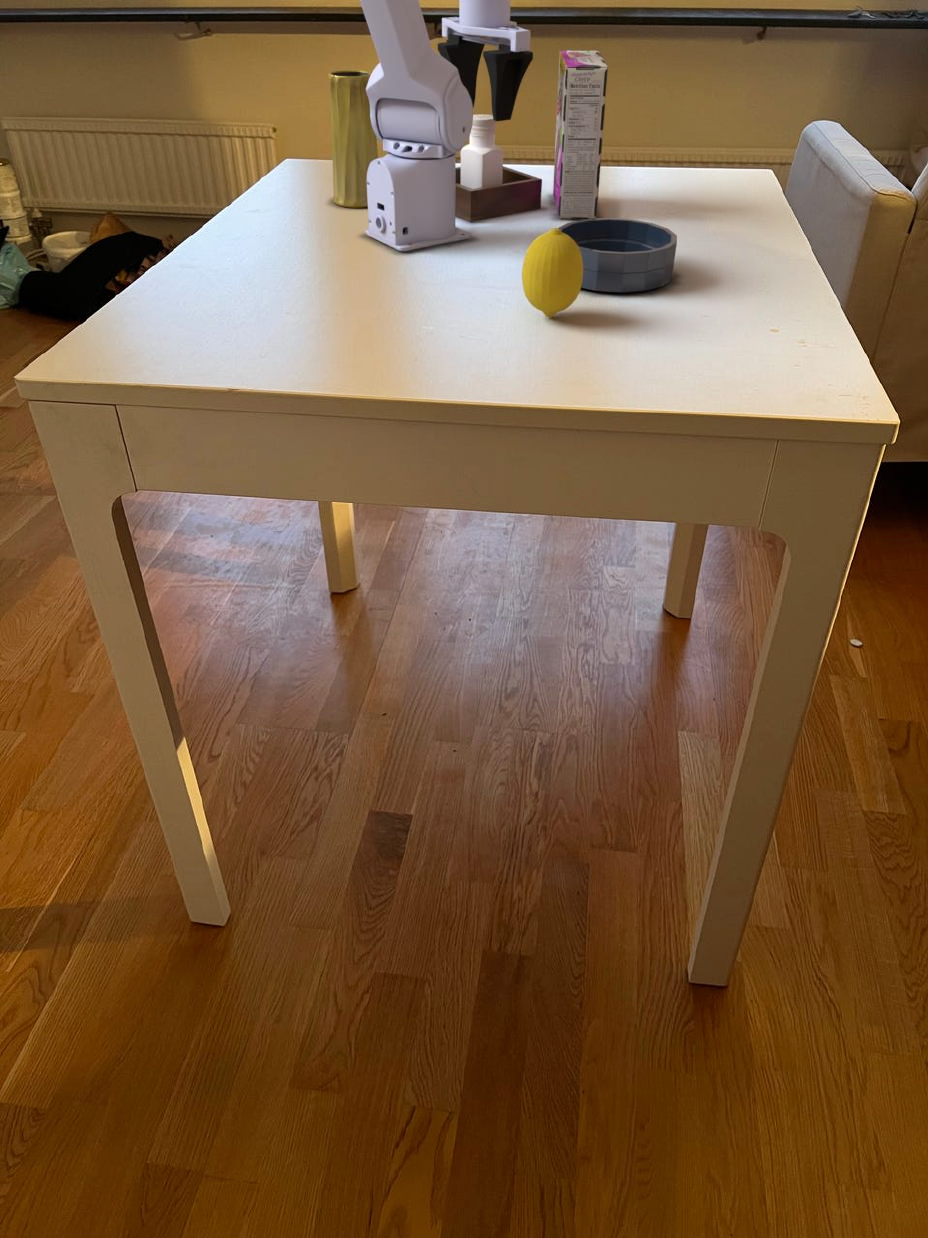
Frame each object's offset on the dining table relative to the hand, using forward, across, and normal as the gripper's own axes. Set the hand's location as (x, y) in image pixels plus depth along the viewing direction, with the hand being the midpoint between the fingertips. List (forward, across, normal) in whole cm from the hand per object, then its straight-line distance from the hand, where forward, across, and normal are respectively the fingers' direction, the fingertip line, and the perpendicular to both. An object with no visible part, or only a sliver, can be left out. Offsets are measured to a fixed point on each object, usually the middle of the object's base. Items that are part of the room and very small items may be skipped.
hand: (483, 114), depth 114 cm
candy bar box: (+10, -7, -9) cm, 15 cm away
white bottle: (+10, 0, 0) cm, 10 cm away
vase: (+10, +10, +12) cm, 19 cm away
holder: (+10, 0, 0) cm, 10 cm away
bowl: (+10, -29, +4) cm, 31 cm away
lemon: (+10, -35, +17) cm, 40 cm away
